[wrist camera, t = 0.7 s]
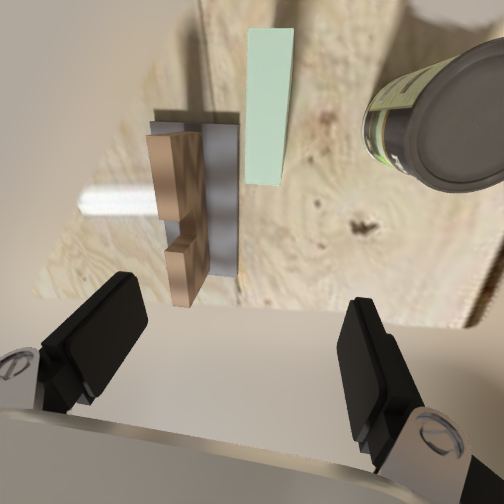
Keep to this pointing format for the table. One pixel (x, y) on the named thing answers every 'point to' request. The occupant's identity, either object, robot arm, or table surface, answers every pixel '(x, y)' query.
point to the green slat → (267, 103)
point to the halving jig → (196, 201)
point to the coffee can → (444, 122)
